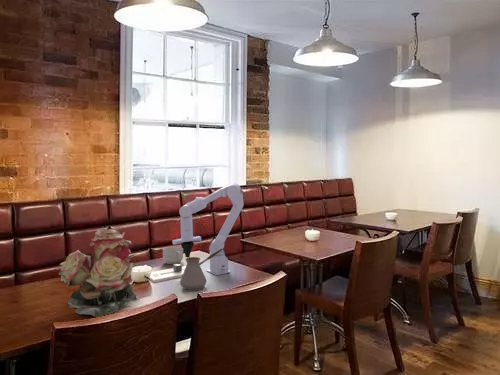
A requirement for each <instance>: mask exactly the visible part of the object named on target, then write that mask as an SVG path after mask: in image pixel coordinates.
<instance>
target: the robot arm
mask: <svg viewBox="0 0 500 375" xmlns="http://www.w3.org/2000/svg"><path fill="white" fill-rule="evenodd" d="M243 196H244V195H243V190H242V187H241V186H240V185H239V184H237V183H231V184H230V185H226V186H223V187H221V188H219V189H217V190H216V191H214V192H212V193H210V194H208V195H207V196H205V197H202V196H199V197H198V196H196V197H194V198H195V199H194V200H192V201H190V202H189V201H188V202H186V204H184V205H182V206H181V207H180V208H179V215H180V238H176V239H172V245H174V246H175V245H179V244H180V247H182V248H183V254H184V256H185V258H190V257H191V252H192V249H193V247H194V245H195V242H198V241H199V242H202V236H199V235H198V236H194V229H193V227H194V226H193V225H194V224H193V214H197V212H200V211H202V210H203V209H206V208H207V204H208V203H211V202H213V201H214V200H218V199H219V198H220V197H222V198H226V197H228V198H229V199H230V202H231V204H232V207H231V209H230V211H229V213H228V215H227V217H226V219H225V221H224V223H223V224H222V227H221V228H220V230H219V232H218V234H217V235H216V238H214V239H213V240H212V242H211V243H210V245H209V247H208V248H209V249H208V250H209V256H210V255H212V254H213V253H215V252H217V251H219V250H220V249H222V251H220V252H219V253H217V254H216V255H215V256H214V257H212V258H210V259H209V269H206V271H207V272H208V273H210V274H213V275H215V276H220V275H224V274H228V273H231V271H230V270H229V258H228V257H227V256H226V255H225V250H224V247H225V241H226V240H227V238H228V236H229V234H230V232H231V231H232V228H233V226H234V224H235V223H236V221H237V219H238V218H239V215H240V213H241V211H242V209H243V207H244V197H243ZM223 250H224V251H223ZM223 252H224V253H223Z"/></svg>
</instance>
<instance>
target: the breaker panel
mask: <svg viewBox="0 0 500 375" xmlns="http://www.w3.org/2000/svg"><path fill="white" fill-rule="evenodd" d="M185 268H186V265H183V266H182V271H178V272H176V271H174V270H173V267H172V268H166V269H162V270H156V271H152V273H151V276H150V280H149V281H151V282H152V283H159V282H163V281H168V280H172V279H179V278H182V276H183V273H184V270H185Z"/></svg>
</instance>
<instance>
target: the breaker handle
mask: <svg viewBox="0 0 500 375" xmlns="http://www.w3.org/2000/svg"><path fill="white" fill-rule="evenodd" d="M172 265H173V267H172V268H173V270H174V271H176V272H178V271H182V264H180V263H178V264H172Z"/></svg>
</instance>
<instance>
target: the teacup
mask: <svg viewBox="0 0 500 375" xmlns="http://www.w3.org/2000/svg"><path fill="white" fill-rule="evenodd" d="M183 259H184V250H183V248H182V246H166V247H163V248H162V260H163V261H164V262H165V263H166V264H168V265H175V264H180V263H181V262H182V261H183Z"/></svg>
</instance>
